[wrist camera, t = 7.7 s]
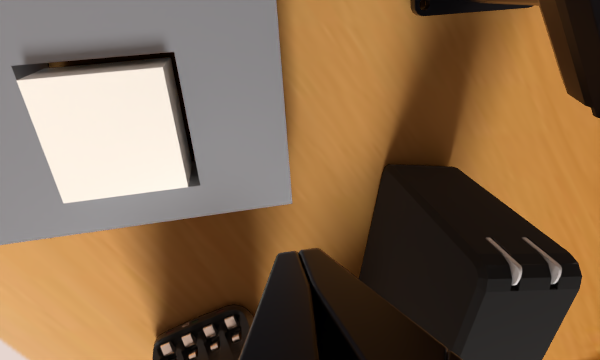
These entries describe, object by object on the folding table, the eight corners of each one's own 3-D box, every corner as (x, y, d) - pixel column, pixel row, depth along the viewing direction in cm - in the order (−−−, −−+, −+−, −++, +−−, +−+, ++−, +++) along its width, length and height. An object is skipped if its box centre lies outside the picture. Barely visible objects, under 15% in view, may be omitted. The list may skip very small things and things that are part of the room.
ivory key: (170, 57, 16) (162, 67, 14) (192, 165, 19) (188, 187, 17) (44, 68, 16) (16, 80, 14) (82, 178, 18) (63, 203, 16)
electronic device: (353, 295, 26) (420, 450, 17) (384, 158, 22) (491, 270, 13) (410, 293, 27) (501, 439, 18) (449, 161, 23) (592, 268, 14)
